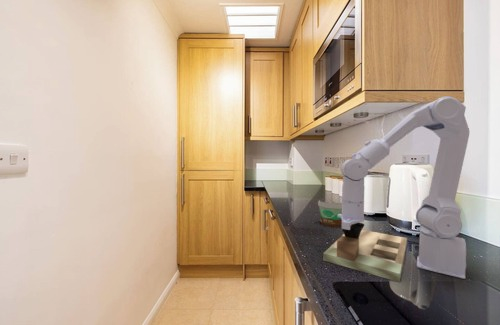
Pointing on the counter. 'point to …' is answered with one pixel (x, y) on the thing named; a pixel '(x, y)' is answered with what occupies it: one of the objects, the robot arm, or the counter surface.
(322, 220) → the food container
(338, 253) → the block
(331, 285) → the counter surface
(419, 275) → the counter surface
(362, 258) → the board
